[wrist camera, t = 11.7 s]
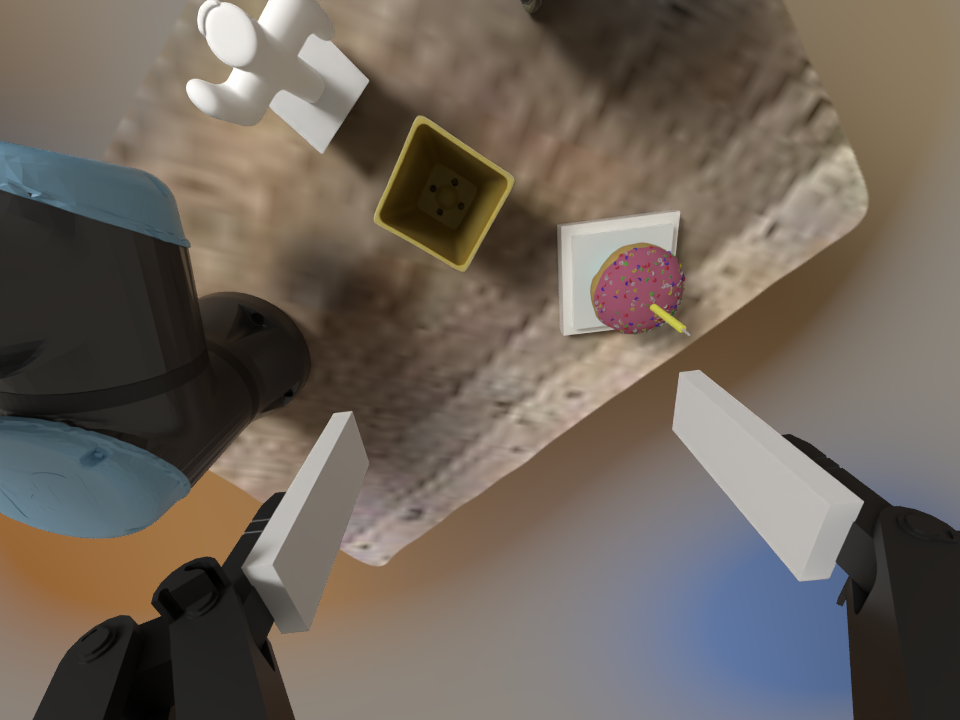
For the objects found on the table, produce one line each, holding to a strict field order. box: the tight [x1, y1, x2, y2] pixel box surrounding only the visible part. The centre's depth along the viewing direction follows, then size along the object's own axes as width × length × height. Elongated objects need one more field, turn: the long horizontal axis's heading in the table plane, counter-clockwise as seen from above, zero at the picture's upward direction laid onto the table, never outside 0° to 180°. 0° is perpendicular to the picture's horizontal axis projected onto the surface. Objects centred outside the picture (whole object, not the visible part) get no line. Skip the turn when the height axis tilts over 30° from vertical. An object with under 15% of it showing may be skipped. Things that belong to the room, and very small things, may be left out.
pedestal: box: [557, 210, 680, 336], centre depth 40 cm, size 12×12×3 cm
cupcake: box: [590, 242, 690, 336], centre depth 33 cm, size 9×8×12 cm
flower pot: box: [374, 116, 515, 272], centre depth 33 cm, size 9×9×9 cm
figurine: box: [186, 0, 370, 154], centre depth 27 cm, size 7×9×15 cm
